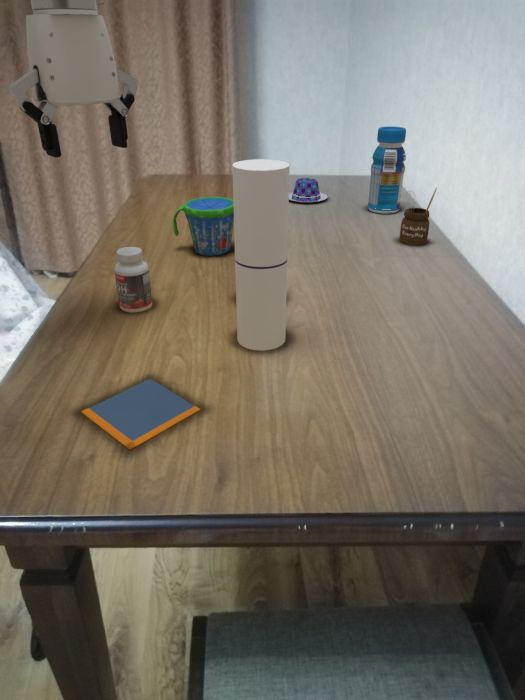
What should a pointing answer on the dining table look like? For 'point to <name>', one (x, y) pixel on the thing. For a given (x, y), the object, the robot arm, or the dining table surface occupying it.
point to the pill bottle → (132, 280)
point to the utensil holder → (415, 225)
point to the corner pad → (140, 413)
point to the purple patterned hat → (306, 191)
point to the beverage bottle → (387, 170)
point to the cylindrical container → (261, 251)
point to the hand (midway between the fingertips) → (88, 151)
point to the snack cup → (209, 224)
